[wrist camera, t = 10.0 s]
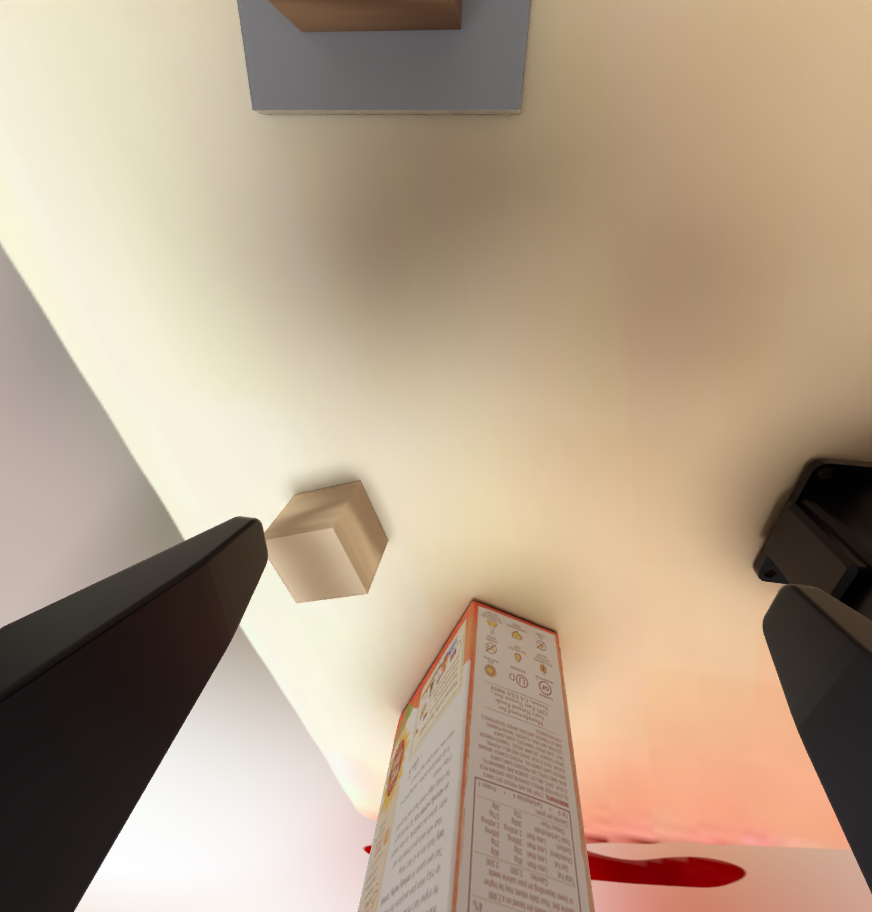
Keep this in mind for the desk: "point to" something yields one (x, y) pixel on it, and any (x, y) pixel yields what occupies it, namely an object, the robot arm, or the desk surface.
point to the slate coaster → (388, 64)
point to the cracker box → (483, 782)
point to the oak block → (327, 543)
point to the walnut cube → (371, 14)
